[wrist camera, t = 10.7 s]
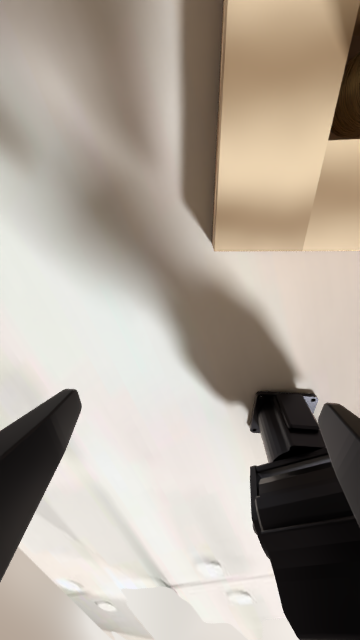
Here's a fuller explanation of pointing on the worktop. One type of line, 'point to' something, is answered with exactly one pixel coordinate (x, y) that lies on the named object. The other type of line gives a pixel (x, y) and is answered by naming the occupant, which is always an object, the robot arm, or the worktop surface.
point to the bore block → (285, 128)
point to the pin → (348, 102)
